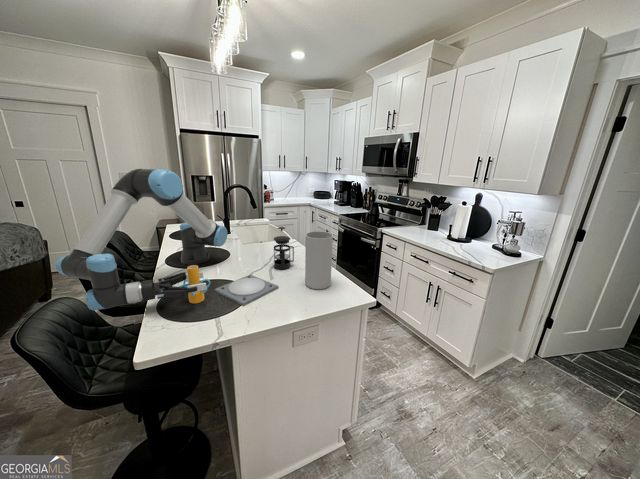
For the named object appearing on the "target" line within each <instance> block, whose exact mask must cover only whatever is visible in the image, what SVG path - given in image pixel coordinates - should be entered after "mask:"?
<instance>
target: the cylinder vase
mask: <svg viewBox="0 0 640 479" xmlns="http://www.w3.org/2000/svg"><path fill="white" fill-rule="evenodd" d="M333 238H334V235H333V233H330V232H328V231H320V230H319V231H318V230H317V231H309V232H306V233H305V256H304V257H305V260H304V261H305V262H304V263H305V265H304V267H305V270H304V272H305V273H304V275H305V277H304V278H305V279H304V281H305V282H304V284H305V286H307V287H308V288H309V289H313V290H324V289H327V288H330V287H331V284H332V268H333V267H332V265H333V264H332V263H333V262H332V261H333V243H334V242H333Z"/></svg>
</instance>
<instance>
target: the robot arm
mask: <svg viewBox="0 0 640 479" xmlns="http://www.w3.org/2000/svg"><path fill="white" fill-rule="evenodd" d="M182 183H183V181H182V180H181V177H180V176H179V175H178V174H177V173H176V172H173V171H172V170H169V169H162V168H157V169H156V168H155V169H154V168H153V169H152V168H151V169H149V168H136V169H132V170H130V171H128V172H127V173H125V174H123V176H122V177H121V178H119V180H117V182H116V183H114V184H115V185H114V186H113V187H112V189H111V190H110V193H111V195H110V197H109V199H108V200H107V201H106V203H105V204H104V205H103V207H102V208H101V210H100V211H99V213H98V214H97V215H96V217H95V218H94V220H93V221H92V223H91V224H90V226H89V227H88V228H87V230H86V231H85V233H84V234H83V236H82V237H80V240H79V241H78V243H77V244H76V245H75V247H74V248H73V250H72V251H71V252H70V253H69V254H65V255H63V256H61V257H60V258H59V259H57V261H56V262H55V270H56V271H57V272H58V273H59V274H60V275H61V276H62V275H63V276H66V277H69V278H75V279H76V278H77V279H82V280H84V281H85V280H87V281H90V283H91V287H92V289H89V290H87V291H86V294H85V301H86V306H87V308H88V309H89V310H91V311H98V310H107V309H110V308H114V307H119V306H125V305H129V304H136V303H139V302H142V301H151V300H152V301H153V300H155V299H156V297H157V300H161V299H171V298H186V297H188V293H192V292H197V291H202V290H204V291H205V290H207V291H208V288H206V286H207V283H206V282H202V283H201V284H196V285H190V286H187V287H188V288H187V287H184V286H182V287H179V286H175V285H177V284H180V283H183V282H184V280H189V278H188V273H186V272H185V271H183V272H179V273H177V274H173V275H170V276H166V277H161V278H158V279H157V282H154V280H153V279H148V280H142V281H141V282H140V281H135V282H134V281H133V282H130V283H123V284H121V281H120V277H119V272H118V267H117V266H118V265H117V263H116V259H115V256H114V255H113V254H112V253H102V252H104V250H105V248H106V246H107V245H108V243H109V242H110V240H111V239H112V237H113V236H114V234H115V233H116V231H117V230H118V228H119V226H120V225H121V223H122V222H123V221H124V219H125V217H126V215H127V214H128V212H129V211H130V209H131V208H132V206H133V205H137V204H138V202H139V200H141V199H142V198H151V199H153V200H154V201H155V202H157V203H158V204H159V205H161V206H162V207H168V208H170V210H171V211H172V212H174V213H175V214H176V215H177V216H178V217H180V218H181V219H182V220H183V221H184V222H183V223H182V222H181V224H180V225H179V232H180V233H179V234H180V240H181V244H182V245H181V246H182V252H181V255H180V262H181V264H183V265H188V266H192V265H200V264H203V263H206V262H207V261H209V260H210V254H209V252H208V250H207V248H206V246H208V247H209V246H210V247H219V248H221V247H222V246H223V245H225V243H226V242H227V238H228V229H227V228H226V226H224V225H219V224H218V223H217V222H215V221H214V220H213V219H211V218H209V219H208V217H206V215H205V214H204V213H202V211H201V210H199V208H198V207H197V206H196V205H195V204H194V203H193V202H192V201H191V200H190V199H189V198H188V197H187V196H186V195H185V194H184V185H183V184H182ZM199 277H200V279H204V272H203V271H199Z"/></svg>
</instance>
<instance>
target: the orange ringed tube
mask: <svg viewBox="0 0 640 479" xmlns="http://www.w3.org/2000/svg"><path fill="white" fill-rule="evenodd" d="M186 270H187V274H188V278H189V280H187V279H186V280H184V281H182V284H180V285H179V286H178V287H187V288H188V286H190V285H196V284H201V283H204V282H205V281H207V282H208V284H206V288H207V290H202V291H197V292H192V293H188V296H187V297H188V302H189V303H190V304H199V303H202V302H204V300H205V293H206V292H208V288H209V287H210V285H211V280H210V279H209V278H202V279H201V278H200V277H199V272H200V271H199V265H198V264H193V265H188V266H187V267H186ZM186 282H187V283H186Z"/></svg>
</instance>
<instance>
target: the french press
mask: <svg viewBox="0 0 640 479" xmlns="http://www.w3.org/2000/svg"><path fill="white" fill-rule="evenodd" d="M277 229H278V230H280V232H281V234H280V235H278V236H275V237H273V240H274V241H275V243H276V245H273V265H274V266H273V268H274V269H275V270H277V271H285V270H289V269H291V267H292V266H291V263H293V262H294V260H295V254H294V253H295V251H294V248H295V247H294V246H292V245H289V243H290V240H291V238H290V236H284V235H283V230H285V229H286V227H284V226H279V227H277ZM283 247H285V248H283ZM291 248H292V260H291ZM288 251H289V254H287V253H285V252H288ZM276 252H279V253H278V254H275V253H276Z"/></svg>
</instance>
